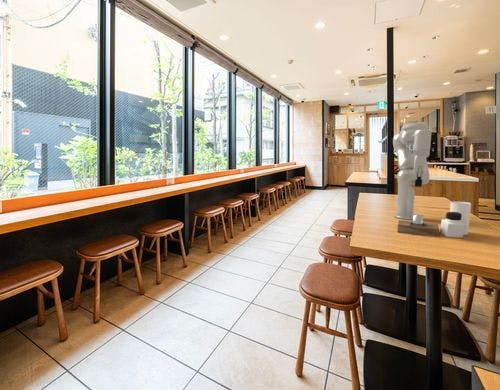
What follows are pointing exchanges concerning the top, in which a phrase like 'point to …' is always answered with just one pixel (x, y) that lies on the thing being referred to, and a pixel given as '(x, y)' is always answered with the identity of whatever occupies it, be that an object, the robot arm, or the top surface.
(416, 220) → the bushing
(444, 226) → the medicine bottle
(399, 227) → the block
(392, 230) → the top surface
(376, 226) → the top surface
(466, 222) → the cup
